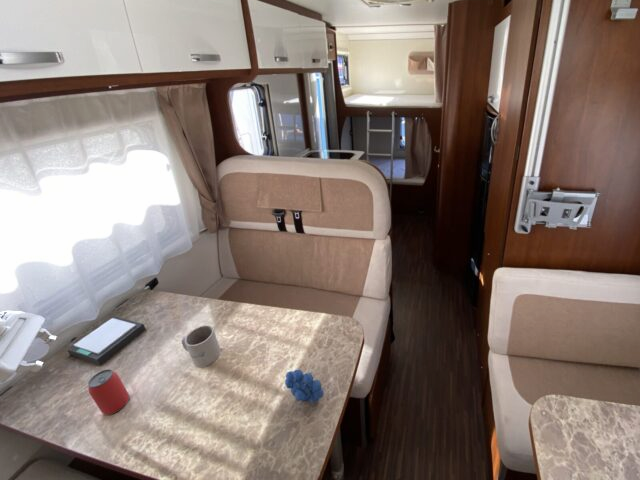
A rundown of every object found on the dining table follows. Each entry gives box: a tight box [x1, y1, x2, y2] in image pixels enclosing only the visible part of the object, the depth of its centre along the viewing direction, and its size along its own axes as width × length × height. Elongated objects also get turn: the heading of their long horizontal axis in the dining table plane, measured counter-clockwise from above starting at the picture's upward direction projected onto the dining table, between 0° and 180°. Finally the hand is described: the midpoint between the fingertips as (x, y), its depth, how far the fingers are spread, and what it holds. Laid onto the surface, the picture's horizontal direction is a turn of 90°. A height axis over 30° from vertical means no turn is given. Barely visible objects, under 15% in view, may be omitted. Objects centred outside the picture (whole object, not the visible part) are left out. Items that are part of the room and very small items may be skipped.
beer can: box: [87, 368, 130, 416], centre depth 89 cm, size 7×7×12 cm
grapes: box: [284, 369, 325, 403], centre depth 88 cm, size 12×7×12 cm, turn 79°
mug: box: [181, 324, 222, 368], centre depth 105 cm, size 12×9×10 cm
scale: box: [66, 315, 146, 366], centre depth 113 cm, size 16×16×4 cm
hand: (48, 353), depth 81 cm, fingers open, 8 cm apart
